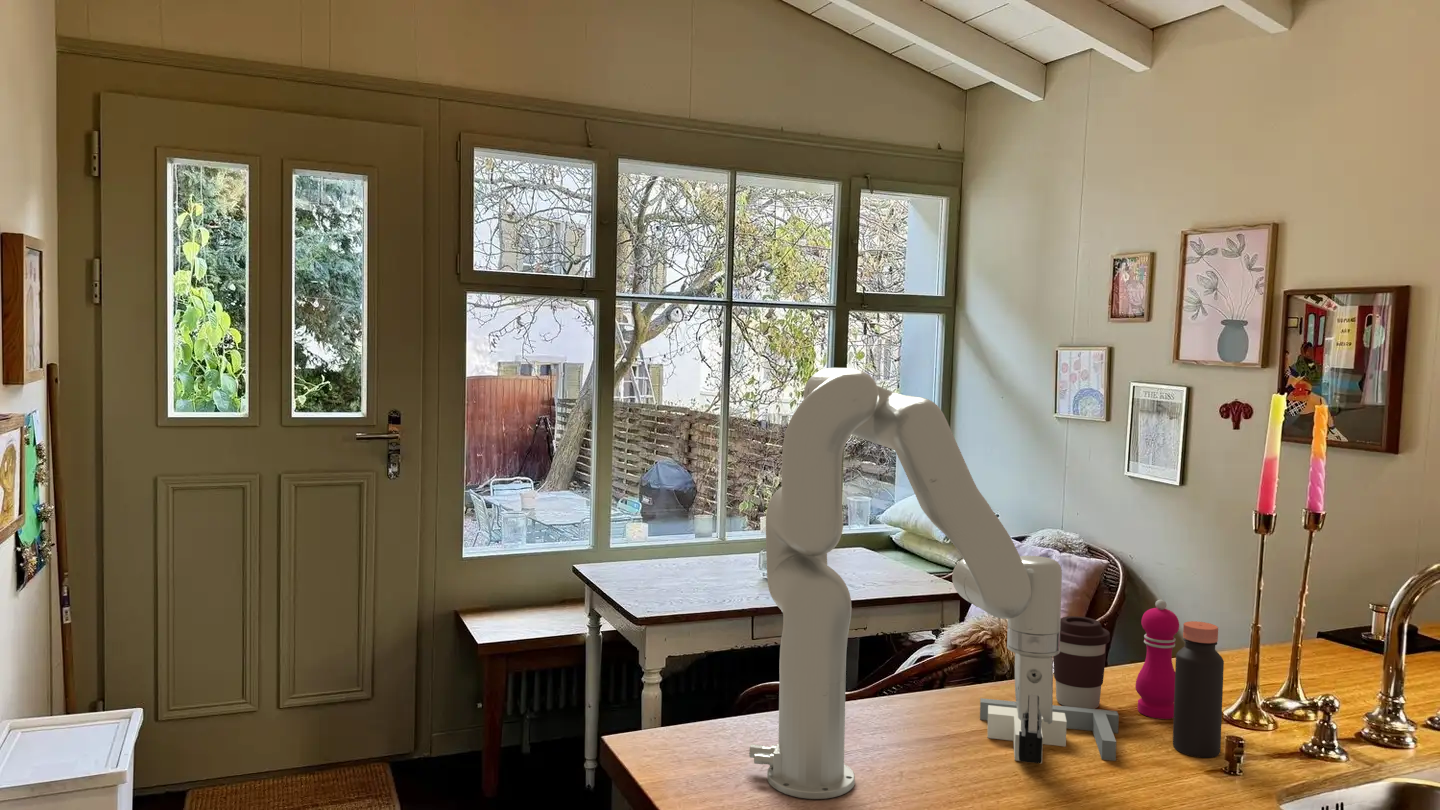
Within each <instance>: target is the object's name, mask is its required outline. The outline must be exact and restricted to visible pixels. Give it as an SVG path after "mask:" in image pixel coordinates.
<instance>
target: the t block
mask: <svg viewBox="0 0 1440 810" xmlns="http://www.w3.org/2000/svg"><path fill="white" fill-rule="evenodd" d="M1066 724H1067V721H1066V717H1065V713H1060V712H1052V723H1051V724H1048V722H1044V720H1043V717H1042V722H1041V734H1042V752H1043V751H1044V749H1043V747H1044V746H1043V745H1049V746H1059V747H1067V728H1066ZM1019 731H1021V720H1020V719H1019V718H1018V712H1017V708H1011V707H1001V706H991V705H988V720H987V739H993V740H994V739H997V740H1005V741H1012V743H1013V756H1014V761H1018V762H1021V761H1020V760H1019ZM1021 732H1022V731H1021ZM1040 764H1043V759H1042V760H1041V763H1040Z"/></svg>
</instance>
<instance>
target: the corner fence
mask: <svg viewBox="0 0 1440 810" xmlns="http://www.w3.org/2000/svg"><path fill="white" fill-rule="evenodd" d="M979 699H980V701H979V703H980V705H979V720H982V721H988V705H991V706H1001V707H1011V708H1017V705H1016V700H1014V701H1012V700H1005V699H1004V700H1002V699H991V698H981V697H980V698H979ZM1052 712H1060V713H1065V717H1066V721H1067V724H1066V729H1071V730H1082V731H1091V732H1092V734H1093V737H1094V740H1095V743H1096V746H1097V749H1098V752H1099V756H1100V758H1101V760H1103V761H1104V760H1105V761H1114V762H1115V761H1117V739H1116V738H1115V735H1114V734H1119V722H1120V721H1119V719H1120V718H1119V717H1120V716H1119V713H1118V711H1117V710H1106V709H1097V708H1095V709H1088V708H1078V707H1067V706H1063V705H1055V704H1052Z"/></svg>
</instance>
